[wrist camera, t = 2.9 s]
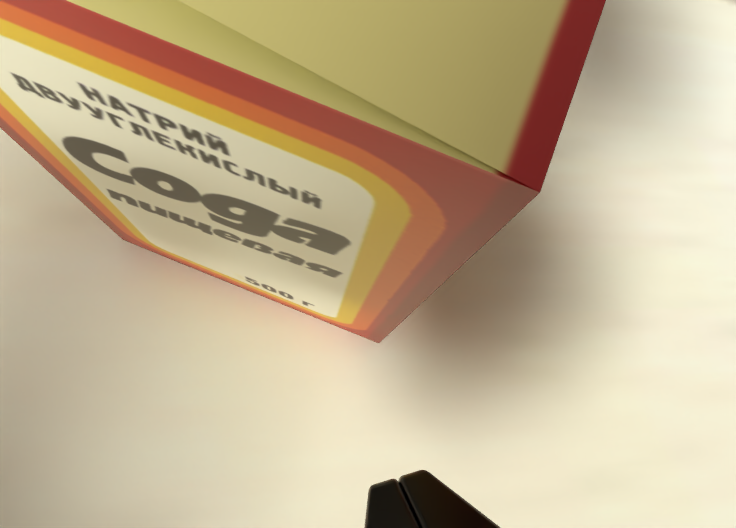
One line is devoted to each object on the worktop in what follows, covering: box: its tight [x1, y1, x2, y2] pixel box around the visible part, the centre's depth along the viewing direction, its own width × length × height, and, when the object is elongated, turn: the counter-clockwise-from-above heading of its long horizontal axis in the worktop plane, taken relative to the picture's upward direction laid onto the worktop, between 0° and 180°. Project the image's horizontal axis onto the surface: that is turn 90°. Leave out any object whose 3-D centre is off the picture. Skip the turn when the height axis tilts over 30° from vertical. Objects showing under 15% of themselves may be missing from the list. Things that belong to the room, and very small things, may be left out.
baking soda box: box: [0, 0, 606, 343], centre depth 15 cm, size 10×6×16 cm
